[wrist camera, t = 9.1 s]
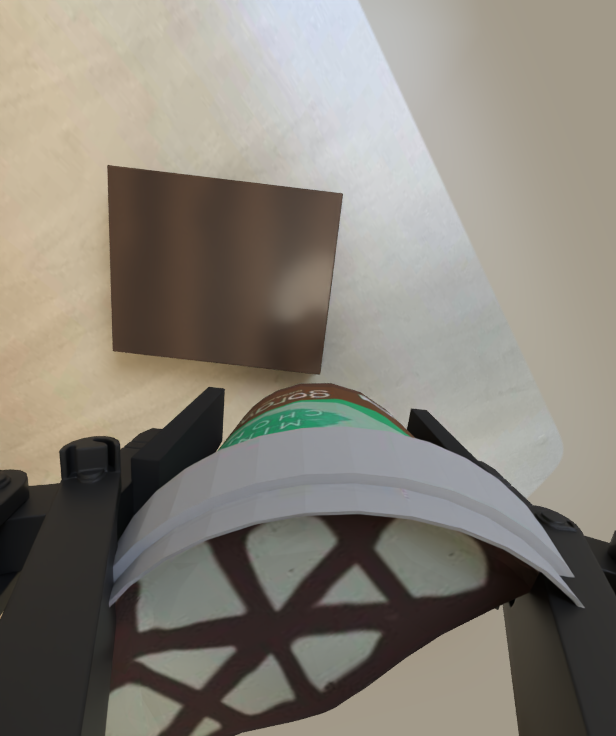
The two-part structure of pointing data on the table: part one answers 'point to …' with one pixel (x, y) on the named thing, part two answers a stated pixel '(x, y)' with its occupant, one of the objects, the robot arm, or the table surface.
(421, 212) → the table surface
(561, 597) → the robot arm
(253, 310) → the board
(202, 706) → the food container
